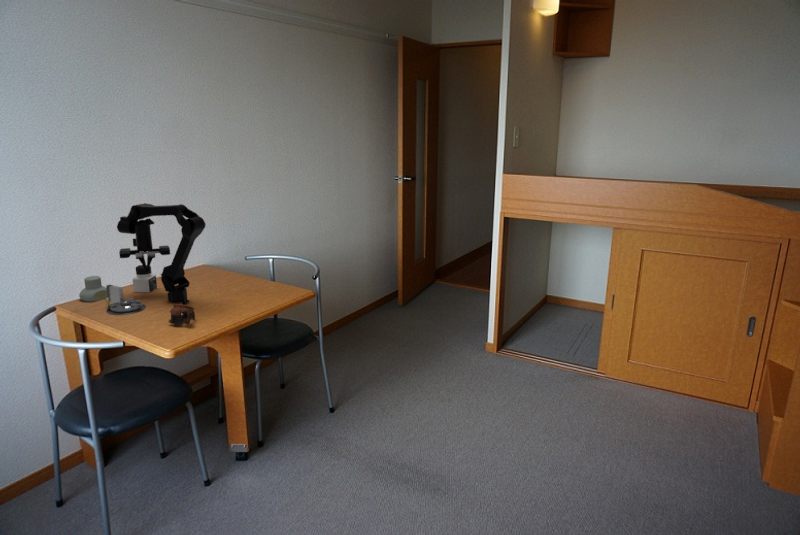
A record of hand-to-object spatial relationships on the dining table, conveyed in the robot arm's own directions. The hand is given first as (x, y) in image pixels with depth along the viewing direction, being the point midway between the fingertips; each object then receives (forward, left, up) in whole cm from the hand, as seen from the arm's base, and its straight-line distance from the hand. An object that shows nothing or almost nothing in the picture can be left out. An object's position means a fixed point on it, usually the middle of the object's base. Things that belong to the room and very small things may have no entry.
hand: (147, 271), depth 230 cm
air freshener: (+21, +5, -12) cm, 25 cm away
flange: (+1, +15, -12) cm, 20 cm away
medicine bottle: (+7, -9, -12) cm, 17 cm away
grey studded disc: (+3, +15, -10) cm, 18 cm away
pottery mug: (-26, +24, -12) cm, 38 cm away
